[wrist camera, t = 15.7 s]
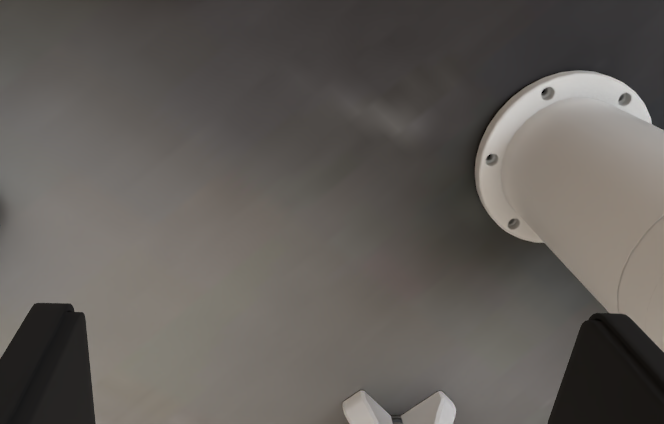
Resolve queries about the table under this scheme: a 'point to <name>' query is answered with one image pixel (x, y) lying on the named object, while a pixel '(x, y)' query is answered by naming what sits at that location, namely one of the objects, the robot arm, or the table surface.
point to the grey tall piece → (422, 420)
